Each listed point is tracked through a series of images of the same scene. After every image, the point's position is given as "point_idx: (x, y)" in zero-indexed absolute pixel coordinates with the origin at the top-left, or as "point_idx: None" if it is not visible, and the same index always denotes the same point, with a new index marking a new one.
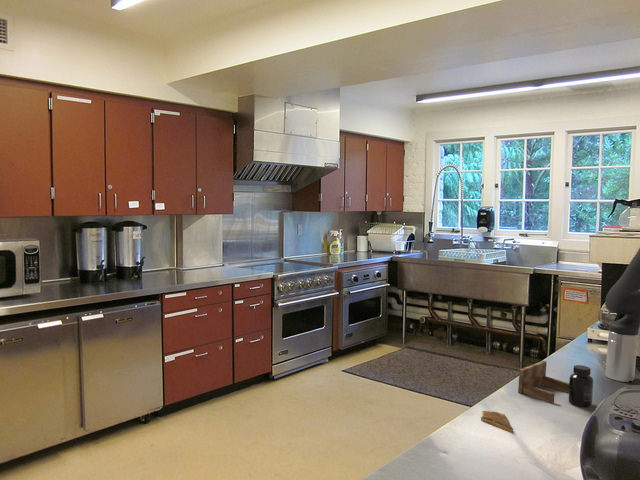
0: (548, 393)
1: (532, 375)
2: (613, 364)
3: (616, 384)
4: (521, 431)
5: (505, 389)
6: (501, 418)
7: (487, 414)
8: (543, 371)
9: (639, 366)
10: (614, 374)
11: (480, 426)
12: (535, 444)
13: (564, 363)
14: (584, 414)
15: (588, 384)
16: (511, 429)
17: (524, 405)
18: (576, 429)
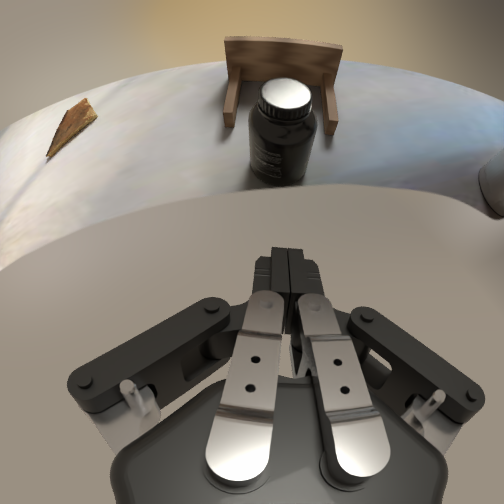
0: (224, 106)
1: (273, 57)
2: (498, 164)
3: (467, 193)
4: (58, 162)
5: None
6: (71, 124)
7: (76, 108)
8: (326, 64)
9: (271, 259)
10: (486, 179)
11: (51, 125)
12: (30, 198)
13: (461, 102)
14: (215, 193)
15: (263, 144)
16: (47, 154)
17: (169, 106)
18: (115, 214)
